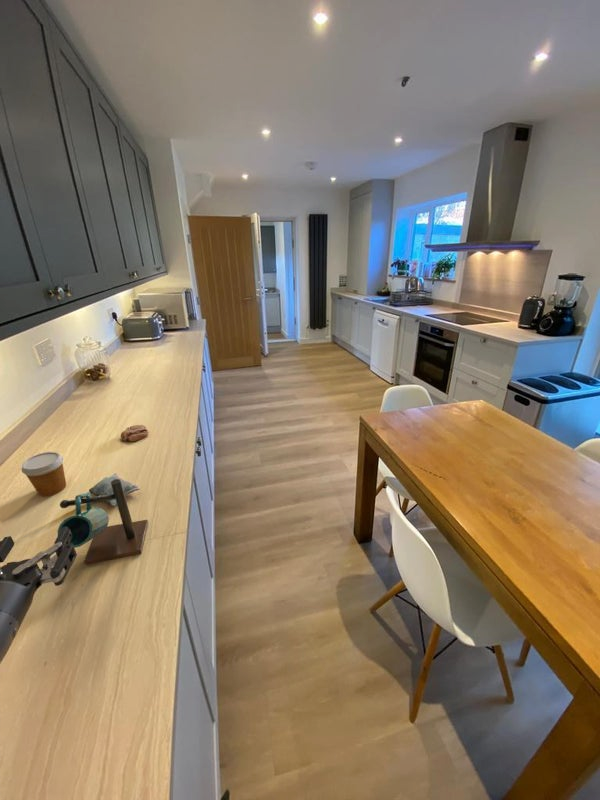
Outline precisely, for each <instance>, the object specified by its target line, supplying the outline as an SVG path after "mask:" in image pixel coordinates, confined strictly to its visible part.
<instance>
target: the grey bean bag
mask: <svg viewBox="0 0 600 800" xmlns="http://www.w3.org/2000/svg"><path fill="white" fill-rule="evenodd" d="M115 479H120V480H121V484H122V487H123V491H124V494H125V497H127V496H128V495H130V494H133V493H135V492H137V491H140V490H141V488H140V487H139V485H136V484H133V483H131V482H128V481H126V480H124V479H123V478H122V477H119V476H118V475H117V473H114V474H113V475H111V476H106V477H104V478H103V479H101V480H100V481H98V482H97V483H96V484H95V485H93V486H92V487H91V488H89V489H88V492H90V493H91V494H93V495H95V497H96V496H103V495H109V494H114V493H113V489H112V486H111V482H112V481H113V480H115ZM104 502H105V503H106V504H108V505H109V506H113V507H116V506H117V503H116V500H115V499H112V500H105V501H104Z"/></svg>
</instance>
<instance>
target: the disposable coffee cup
mask: <svg viewBox="0 0 600 800" xmlns="http://www.w3.org/2000/svg"><path fill="white" fill-rule="evenodd" d="M63 462H64V457H63V455H61V454H60V453H59V452H57V451H46V452H41V453H37V454H35V455H33V456H30V457H29V458H27V459H25V461H23V462H22V465H21V472H22V473H23V474H24V476H26V477H27V479H28V480H29V481H30V483H31V485H32V486H33V488H34V489H35V491H36V493H37V494H38V495H39V496H40V497H44V498H47V497H52V496H55V495H57V494H59V493H61V492H62V491H63V490H64V489H66V487H67V481H66V475H65V469H64V465H63V464H64V463H63Z"/></svg>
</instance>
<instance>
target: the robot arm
mask: <svg viewBox="0 0 600 800" xmlns="http://www.w3.org/2000/svg"><path fill="white" fill-rule="evenodd" d="M12 537H13V536H11V535H7V536H4V537H3V539H2V540H0V564H1V563H4V562H5V560H6V559H7V557H8V556H9V554H10V552H11V551H12V549H14V546H15V541H14V539H13V538H12ZM71 539H72V533H71V531H70V529H68V527H63V528H62V529H61V531H60V533H59V535H58V534H57V537H56V539H55V540H54V542H53V545H51V546H49V548H48V549H46V550H41V551H39V552H38V553H36V554H35V555H34V556H32V557H31V558H26V559H22V560H19V561H10V562H6V564H4V565H2V566H0V664H1V663H2V662H3V660H4V659H5V657H6V656H7V654H8V652H9V650H10V648H11V646H12V644H13V642H14V640H15V638H16V636H17V634H18V633H19V630H20V628H21V626H22V624H23V622H24V620H25V618H26V616H27V613H28V611H29V610H30V608H31V606H32V603H33V601H34V597H35V594H36V592H37V590H38V589H40V587H41V586H42V585H44V584H50V583H51V584H52V583H53V584H54V586H55V587H58V586H60V585H63V583H64V582H65V580H66V578H67V576H68V574H69V572H70V570H71V568H72V566H73V564H74V562H75V560H76V558H77V556H78V553H77V550H76V547H75V548H74V545H73V543H70V541H71ZM52 555H53V556H52ZM51 556H52V557H51ZM40 562H41V563H42V567H41V568H40V566H39V565H38V564H39V563H40Z"/></svg>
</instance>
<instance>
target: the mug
mask: <svg viewBox="0 0 600 800" xmlns="http://www.w3.org/2000/svg"><path fill="white" fill-rule="evenodd" d="M90 497H92V493H91V492H90V491H87V492H84V493H80V494H77V495H75V497H74V500H75V505H74V506H75V514H73V515H70V516H68V517H67V518H65V519H64V520H63V521H61V522H60V524H59V525H58V528H57V536H58V535H59V533H60V531H61V529H62V528H63V527H68V529H70V531H71V533H72V539H71V541H70V543H73V545H74V548H75V549H76V548H80V547H82V546H84V545H85V544H87V543H88V542H90V541H92V540H93V538H94V537H96V536H97V535H99V534H100V533H102V532H103V531H104V530H105V529H106V527H107V526H109V522H110V517H109V514H108V512H107V511H106V510H104V509H103V508H102V507H96V506H94V507H92V503H86V504H85V507H86V509H84V510H82V504H81V499H83V498H90Z"/></svg>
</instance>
